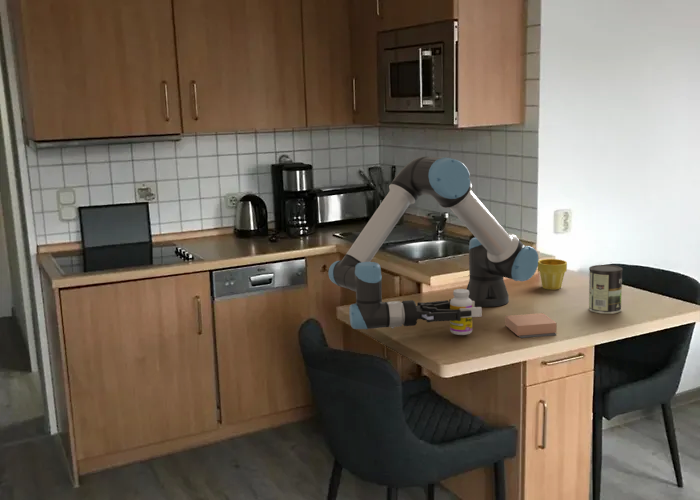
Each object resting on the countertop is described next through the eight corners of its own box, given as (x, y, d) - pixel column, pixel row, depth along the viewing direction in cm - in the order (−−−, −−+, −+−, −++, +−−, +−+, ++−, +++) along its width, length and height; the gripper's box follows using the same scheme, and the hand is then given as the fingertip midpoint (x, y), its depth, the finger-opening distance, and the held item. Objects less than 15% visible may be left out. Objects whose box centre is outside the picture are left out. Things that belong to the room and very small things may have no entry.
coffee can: (618, 305, 253) (620, 264, 250) (623, 314, 243) (624, 271, 240) (586, 305, 255) (587, 264, 252) (589, 313, 245) (590, 271, 242)
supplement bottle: (467, 336, 223) (467, 294, 220) (446, 333, 226) (446, 292, 224) (476, 330, 228) (476, 289, 226) (455, 327, 232) (455, 287, 229)
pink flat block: (517, 325, 223) (556, 323, 225) (505, 315, 234) (542, 313, 236) (517, 335, 224) (556, 332, 225) (505, 325, 235) (542, 322, 236)
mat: (520, 338, 223) (520, 336, 223) (506, 325, 236) (506, 324, 236) (556, 335, 225) (556, 333, 224) (540, 322, 237) (540, 321, 237)
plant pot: (569, 290, 275) (570, 264, 273) (541, 291, 275) (541, 265, 273) (562, 283, 285) (562, 258, 283) (534, 284, 285) (534, 259, 283)
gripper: (396, 316, 234) (468, 311, 237) (409, 335, 215) (487, 329, 218) (395, 293, 233) (468, 288, 236) (408, 310, 214) (487, 304, 216)
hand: (477, 308), depth 227 cm, fingers closed on supplement bottle, 7 cm apart
